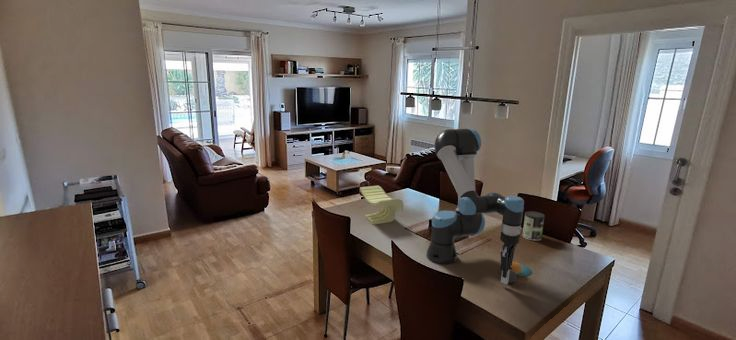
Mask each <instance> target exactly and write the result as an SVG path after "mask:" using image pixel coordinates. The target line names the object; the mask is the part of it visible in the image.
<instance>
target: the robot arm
mask: <svg viewBox="0 0 736 340" xmlns="http://www.w3.org/2000/svg"><path fill="white" fill-rule="evenodd" d="M480 135H481V134H480V133H479V132H478V131H477V130H475V129H472V128H456V129H455V128H454V129H451V128H449V129H448V128H447V129H445V130H442V131H441V132H440V133H439V134H438V135H437V136H436V138H435V141H434V152H435V155H436V156H437V158H438V159H439V160H440V161H441V163H442V164H443V166H444V168H445V171H446V173H447V175H448V177H449V180H450V181H451V183H452V185H453V187H454V189H455V191H456V193H457V197H458V198H457V199H458V201H457V207H456V208H455V211H452V210H440V211H437V212H436V213H433V216H432V220H431V235H430V236H431V237H430V243H429V245H428V247H427V250H426V258H427V259H428V260H429V261H431V262H433V263H436V264H441V265H448V264H449V265H450V264H453V263H455V262H456V261H457V260H458V259H457V258H458V253H457V249H456V245H455V242H456V241H455V240H456V238H461V237H473V236H477V235H480V234H481V233H482V232H483V231H484V229H485V227H486V226H485V225H486V219H485V217H484V214H490V213H497V214H498V215H501V216H502V221H501V229H500V231H501V232H500V237H499V238H500V242H502V243H503V245H502V251H501V252H500V268H499V270H501V276H500V277H501V278H500V283H501V284H503V285H508V284H509V282H508V280H509V272H510V270H509V269H511V270H512V268H511V266H512V262H514V261H513V260H514V255H515V249H516V248H517V245H518V244H519V243H520V237H521V235H520V234H521V232H522V231H523V228H522V222H523V214H524V209H525V207H524V205H525V200H524V198H522V197H520V196H516V195H507V196H503V195H502V194H500V193H499V192H498V193H497V192H493V191H492V192H489V193H487V194H486V195H481V196H480V195H478V193H477V191H476V177H475V176H476V175H475V158H476V157H477V155H478V152H479V151H480V150H481V147H482V138H481V136H480Z"/></svg>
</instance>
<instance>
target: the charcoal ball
mask: <svg viewBox="0 0 736 340" xmlns="http://www.w3.org/2000/svg"><path fill="white" fill-rule="evenodd" d="M517 276H518V275H516V273H515V272H514V271H512V270H510V272H509V280H508V284H511V283H515V282H516V280H517Z"/></svg>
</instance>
